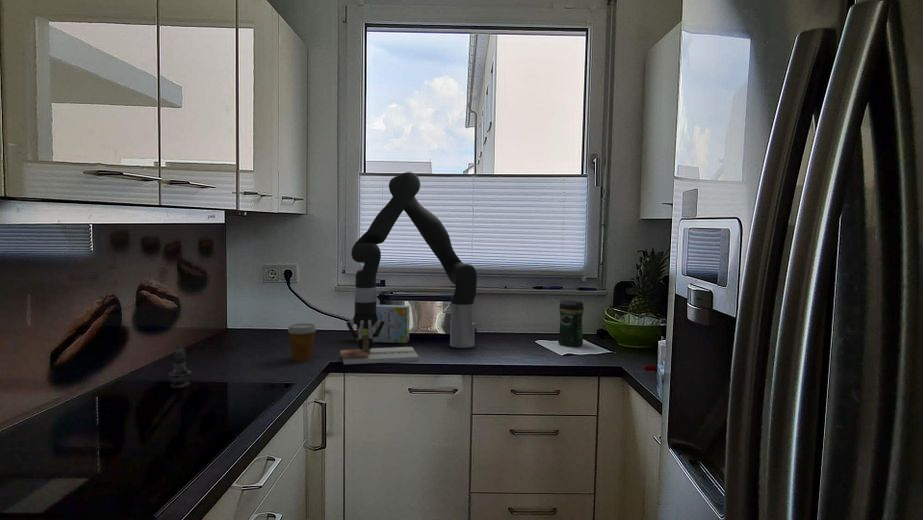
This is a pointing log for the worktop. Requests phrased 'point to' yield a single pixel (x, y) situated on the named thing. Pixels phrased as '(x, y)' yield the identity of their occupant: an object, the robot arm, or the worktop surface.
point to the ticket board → (384, 356)
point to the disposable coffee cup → (301, 341)
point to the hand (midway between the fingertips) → (365, 348)
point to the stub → (363, 352)
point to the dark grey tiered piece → (179, 369)
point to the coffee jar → (571, 323)
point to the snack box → (391, 324)
